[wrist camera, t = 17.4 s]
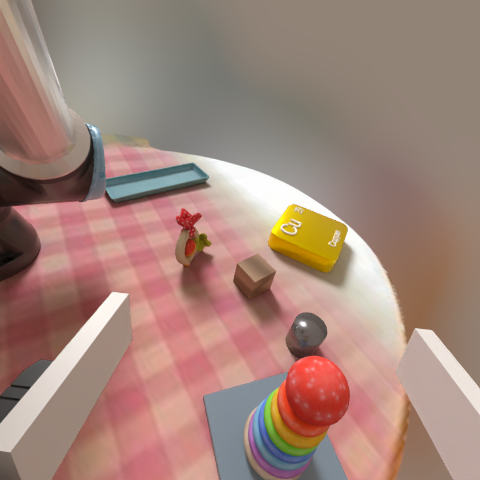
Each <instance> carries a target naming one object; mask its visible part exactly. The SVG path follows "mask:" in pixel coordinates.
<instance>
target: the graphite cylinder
mask: <svg viewBox="0 0 480 480" xmlns="http://www.w3.org/2000/svg"><path fill="white" fill-rule="evenodd" d="M326 336H327V327H326V325H325V323H324V322H323V320H322V319H321V318H319V317H318V316H316V315H315V314H312V313H301V314H299V315H298V316H297V317H296V319H295V321H294V323H293V325H292V326H291V328H290V330H289V332H288V334H287V336H286V344H287V347H288V349H289V350H290V351H291V353H292V354H294V355H295V356H297V357H299V358H304V357H308V356H313V355H314V353H315V352H316V351H317V349H318V348H319V346H320V345H321V343H322V342H323V341H324V339H325V338H326Z"/></svg>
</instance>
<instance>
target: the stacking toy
mask: <svg viewBox="0 0 480 480" xmlns="http://www.w3.org/2000/svg"><path fill="white" fill-rule="evenodd" d="M349 399H350V391H349V386H348V383H347V380H346V378H345V376H344V374H343V373H342V371H341V370H340V369H339V368H338V367H337V366H336V365H335V364H334V363H333V362H331V361H330V360H328V359H326V358H323V357H319V356H308V357H304V358H301V359H300V360H298V361H297V362H296V363H294V364H293V365H292V367H291V368H290V370H289V372H288V374H287V378H286V380H285V381H284V382H283V383H282V384H281V386H280V387H279V388H277V389H276V390H274V391H273V392H272V393H271V394H270V395H269V396H268V397H267V398H266V399H264V400H263V401H262V402H261V403H260V405H259V406H258V407H256V408H255V409H254V410H253V411H252V412H251V414H250V415H249V417H248V419H247V421H246V424H245V427H244V435H243V441H244V448H245V452H246V455H247V458H248V460H249V462H250V464H251V466H252V467H253V469H254V470H255V471H256V472H257V473H258V474H259V475H260V476H261V477H262V478H264V479H265V480H296V479H297V478H298V477H299V476H300V475H301V474H302V473H303V472H304V471H305V470H306V469H307V467H308V466H309V464H310V462H311V460H312V457H313V454H314V452H315V451H316V449H317V447H318V445H319V444H320V442H321V441H322V440H323V439H324V437H325V436H326V433H327V431H328V428H329V427H330V425H332V424H334V423H336V422H338V421H339V420H340V419H341V418H342V417H343V416H344V414H345V413H346V411H347V408H348V405H349Z"/></svg>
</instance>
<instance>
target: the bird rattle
mask: <svg viewBox="0 0 480 480" xmlns="http://www.w3.org/2000/svg"><path fill="white" fill-rule="evenodd" d="M201 217H202V215H201V214H200V213H197V214H195V215H193V216H192V215H191V214H190V213H189V212H187V211H186V210H185V209H181V215H180V216H177V217H176V221H177V223H178V224H179V225H181V226H183V229H182V230H181V234H180V235H179V238H178V240H177V244H176V250H175V255H176V259H177V261H178V262H179V263H181V264H183V265H184V266H187V267H188V266H189V265H190V263H191V261H192V259H193V258H194V256H195V254H196V251H198V252H201V251H203V249H204V247H205V246H208V247H209V246H210V245H211V244H212V243H211V242H210V241H208V240H207V236H206V234H204V233H202V234H198V231H197V229H196V228H195V227H194V226H193V225H194V224H195V223H196V222H197V221H198V220H199V219H200V218H201Z"/></svg>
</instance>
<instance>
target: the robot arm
mask: <svg viewBox="0 0 480 480" xmlns="http://www.w3.org/2000/svg"><path fill="white" fill-rule="evenodd" d="M105 191H106V175H105V158H104V149H103V143H102V137H101V133H100V131H99V129H98V128H97V127H96V126H94V125H89V124H87V123H84V122H83V120H82V119H81V118H80V117H79V116H78V115H77V114H76V113H75V112H74V111H73V110H71V109H70V108H68V107H67V104H66V102H65V99H64V96H63V93H62V90H61V87H60V84H59V81H58V78H57V75H56V72H55V69H54V67H53V63H52V61H51V58H50V55H49V52H48V49H47V46H46V43H45V40H44V37H43V34H42V32H41V29H40V25H39V23H38V20H37V17H36V14H35V11H34V8H33V5H32V2H31V0H0V281H1V280H3V279H6V278H8V277H10V276H12V275H14V274H16V273H18V272H19V271H21V270H22V269H24V268H25V267H26V266H28V265H29V264H30V263H31V262H32V261H33V260H34V259H35V257H36V256H37V254H38V252H39V250H40V239H39V237H38V235H37V232H36V230H35V229H34V228H33V226H32V225H31V224H29V223H28V222H27V221H26V220H25V219H24V218H23V217H22V216H21V215H20V214H19V213H18V212H17V211H16V210H15V209H14V208H13V207H12V206H21V205H34V204H48V203H61V202H75V201H79V202H85V201H87V200H94V199H99V198H101V197H103V195H104V194H105ZM131 341H132V329H131V316H130V303H129V294H126V293H118V292H112V293H111V294H110V295H109V297H108V298H107V299H106V300H105V301H104V302H103V304H102V305H101V306H100V307H99V308H98V309H97V311H96V312H95V313H94V314H93V315H92V316H91V318H90V319H89V320H88V321H87V322H86V324H85V325H84V326H83V327H82V328H81V329H80V331H79V332H78V333H77V334H76V335H75V336H74V338H73V339H72V340H71V341H70V342H69V343H68V345H67V346H66V347H65V348H64V349H63V351H62V352H61V353H60V354H59V355H58V356H57V358H56V359H55V360H54V361H50V360H42V359H40V360H39V361H37V362H36V363H34V364H33V365H31V366H30V367H28V368H27V369H25V370H24V371H23V372H22V373H21V374H20V375H19V376H18V377H17V378H16V379H15V381H14V382H13V383H12V384H11V386H10V387H8V388H7V389H6V390H5V391H4V392H3V393H2V394H1V395H0V480H52V478H53V476H54V475H55V473H56V471H57V469H58V468H59V466H60V464H61V462H62V461H63V459H64V457H65V456H66V454H67V452H68V450H69V449H70V447H71V445H72V443H73V442H74V440H75V438H76V436H77V435H78V433H79V431H80V430H81V428H82V426H83V424H84V423H85V421H86V419H87V417H88V416H89V414H90V412H91V410H92V409H93V407H94V405H95V404H96V402H97V400H98V398H99V397H100V395H101V393H102V391H103V390H104V388H105V386H106V384H107V383H108V381H109V379H110V378H111V376H112V374H113V372H114V371H115V369H116V367H117V365H118V364H119V362H120V360H121V358H122V357H123V355H124V353H125V351H126V350H127V348H128V346H129V345H130V343H131ZM395 373H396V374H397V376H398V378H399V380H400V382H401V384H402V386H403V387H404V389H405V391H406V393H407V395H408V397H409V399H410V400H411V402H412V404H413V406H414V408H415V410H416V412H417V413H418V415H419V417H420V419H421V421H422V423H423V424H424V426H425V428H426V430H427V432H428V434H429V436H430V437H431V439H432V441H433V443H434V445H435V447H436V448H437V450H438V452H439V454H440V456H441V458H442V459H443V461H444V463H445V465H446V467H447V469H448V471H449V473H450V475H451V476H452V478H453V480H480V388H479V387H478V386H477V385H476V383H475V382H474V381H473V380H472V378H471V377H470V376H469V375H468V374H467V372H466V371H465V370H464V369H463V367H462V366H461V365H460V364H459V363H458V361H457V360H456V359H455V358H454V357H453V355H452V354H451V353H450V352H449V350H448V349H447V348H446V347H445V346H444V344H443V343H442V342H441V341H440V339H439V338H438V337H437V336H436V335H435V333H434V332H433V331H432V330H425V329H416V328H415V330H414V332H413V334H412V336H411V338H410V340H409V343H408V345H407V347H406V349H405V352H404V354H403V356H402V358H401V360H400V363H399V365H398V367H397V369H396V372H395Z"/></svg>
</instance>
